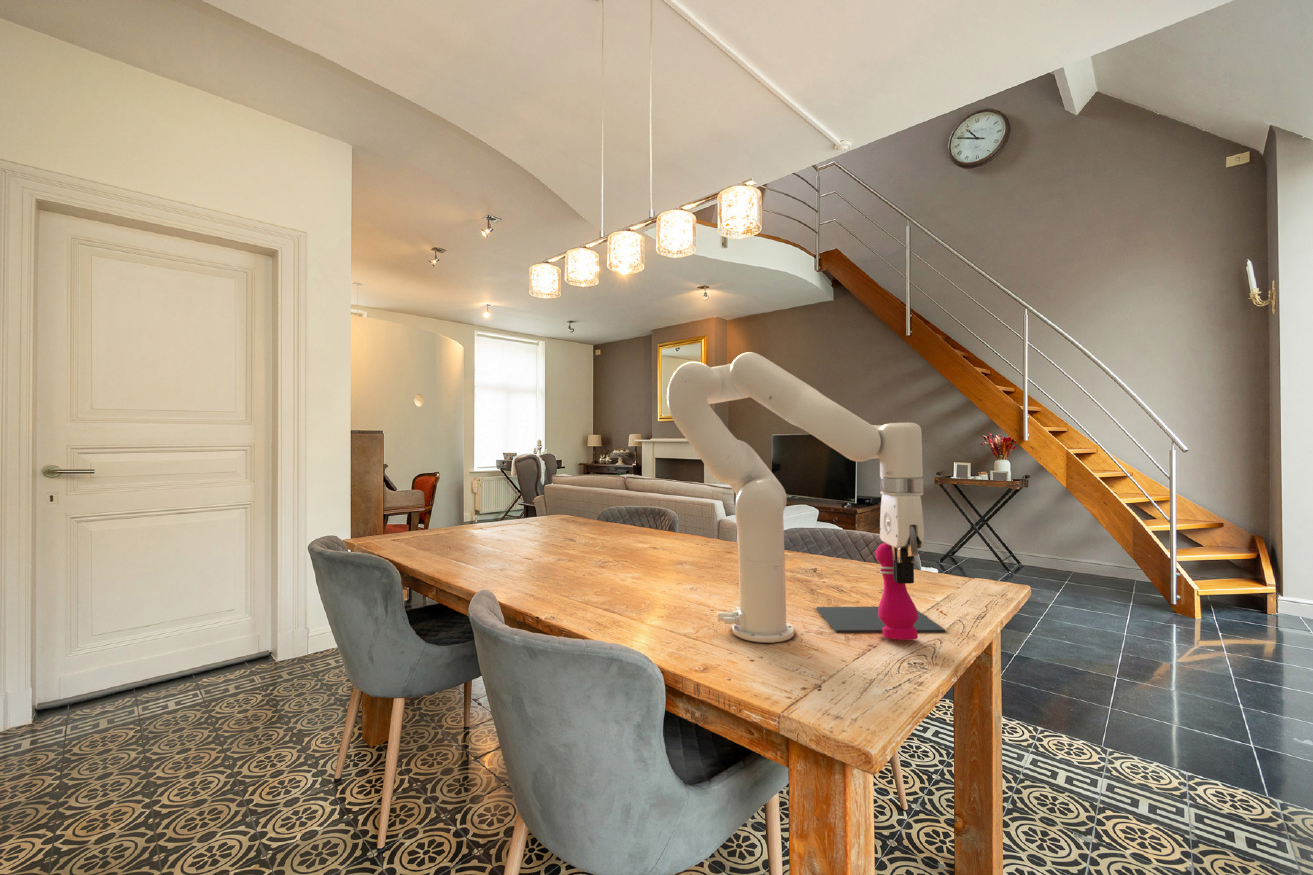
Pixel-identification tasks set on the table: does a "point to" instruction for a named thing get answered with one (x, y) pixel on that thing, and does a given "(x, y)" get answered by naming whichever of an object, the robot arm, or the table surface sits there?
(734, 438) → the robot arm
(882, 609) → the pepper mill
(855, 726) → the table surface
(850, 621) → the mat
